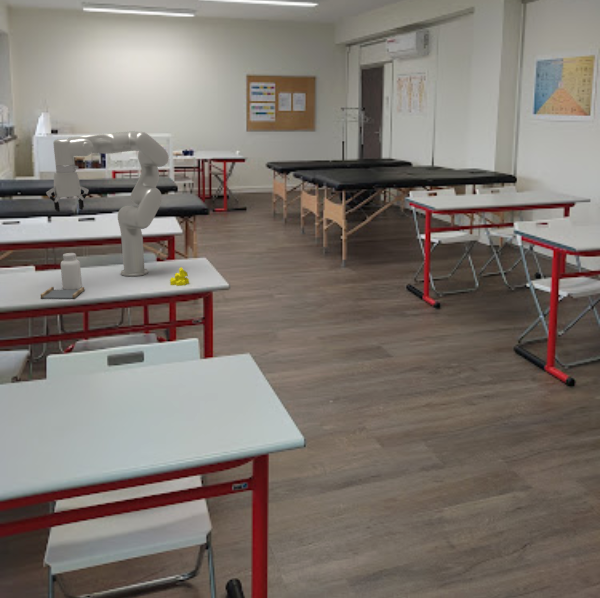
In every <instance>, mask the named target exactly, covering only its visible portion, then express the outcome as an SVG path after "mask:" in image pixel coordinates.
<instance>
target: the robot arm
mask: <svg viewBox="0 0 600 598" xmlns="http://www.w3.org/2000/svg"><path fill="white" fill-rule="evenodd" d="M134 151H135V152H138V153H137V158H138V162H139V164H140V168H141V169H140V170H141V172H140V176H139V177H138V180H137V182H136V184H135V186H134V188H133V189H132V191H131V194H130V201H131V202H132V204H134V206H133V205H124V206H122V207H120V209H118V212H117V220H118V226H119V229H120V237H121V250H122V251H121V252H122V253H121V254H122V264H123V270H120V275H121V276H124V277H140V276H144V275H147V274H149V269H147V268H146V267H145V256H144V254H145V253H144V239H143V232H142V230H143V229H144V230H145V229H147V228H148V227H149V226H150V225H151V224H152V222H153V220H154V218H155V217H156V214H157V213H158V210H159V209H160V207H161V204H162V200H163V197H162V196H163V195H162V192H161V191H160V189H158V188H157V186H158V183H159V180H160V171H159V168H160V167H164V166H166V165H167V164H168V162H169V160H170V159H169V154H168V151H167V150H166V149H165V148H164V146H162V145H161V144H160V143H158V142H157V140H156V139H154V138H153V137H152V136H151V135H150V134H148V133H146V132H145V131H135V130H134V131H133V130H132V131H131V130H129V131H120V132H112V133H111V132H110V133H101V134H100V133H99V134H91V135H81V136H71V137H69V138H57V139H55V140H54V141H53V153H54V154H53V155H54V161H55V172H54V175H53V187H52V188H50V189H49V190H48V191H46V192H45V193H46V195H47V196H48V199H50V200H51V201H52V202H53V204H54V210H55V211H56V212H57V213H60V211H61V210H60V209H61V208H60V202H59V200H60V199H61V198H72V197H74V198H75V197H77V198H78V209H79V210H81V211H82V210H84V207H85V203H84V200H85V199H86V197H88V194H89V188H86V187H84V186H82V185H81V183H80V178H79V174H78V172H76V171H77V170H79V166H78V165H76V164H75V156H76V157H87V156H89V155H91V154H108V155H110V154H118V153H126V152H127V153H128V152H134ZM158 167H159V168H158ZM82 191H83V193H82ZM52 193H54V197H53V195H52ZM81 194H82V195H81ZM135 205H136V206H135Z"/></svg>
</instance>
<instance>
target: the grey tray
mask: <svg viewBox="0 0 600 598" xmlns="http://www.w3.org/2000/svg"><path fill="white" fill-rule="evenodd" d="M78 290H79V289H76V290H65V289H54V290H53V291H51V292H50V293H48V294H47V295H45V296H44V297H43V299H42V300H76V299H77V298H78V297H79V296H81V295H82V294H83V293H84V292H85V291H86V290H84V291H82V292H81V293H80V294H79V295H78V296H77V298H76V297H75V298H73V296H72V295H73V294H74V293H75V292H77V291H78Z"/></svg>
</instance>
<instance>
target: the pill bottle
mask: <svg viewBox="0 0 600 598" xmlns="http://www.w3.org/2000/svg"><path fill="white" fill-rule="evenodd" d="M62 258H63V260H62V261H61V262H60V272H61V282H62V283H61V284H62V290H79V289H81V288H82V287H83V286H82V285H83V284H82V271H81V262H80V260H78V259H77V254H76V252H75V253H74V252H68V253H63V254H62Z"/></svg>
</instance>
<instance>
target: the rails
mask: <svg viewBox="0 0 600 598" xmlns="http://www.w3.org/2000/svg"><path fill="white" fill-rule="evenodd" d="M53 290H55V287H54V286H51V287H49V288H48V289H47V290H45V291H43V292H42V293H41V294H40V300H44V299H43V297H44V296H45V295H47V294H48V293H50V292H51V291H53ZM77 290H78V291H77V292H75V293H74V294H73V295H72V296H73V298H75V297H76V298H75V299H77V298H78V297H79V296H80V295H79V294H80V293H81V292H82V291H84V290H85V287H84V286H82V287H81V288H80V289H77ZM85 291H86V290H85ZM85 291H84V292H85ZM78 295H79V296H78ZM77 296H78V297H77Z"/></svg>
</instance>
